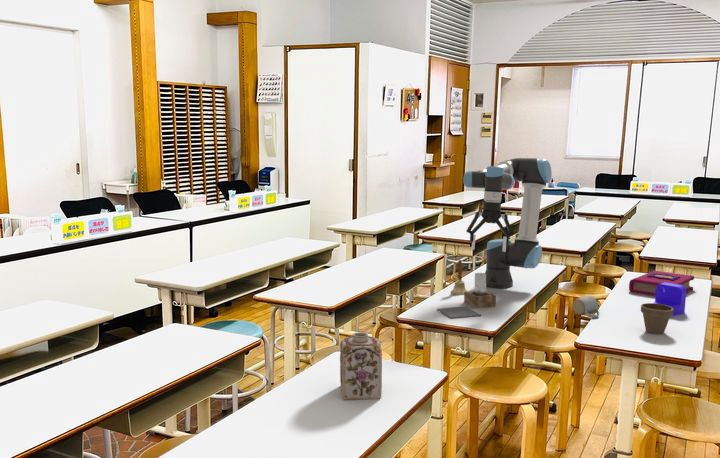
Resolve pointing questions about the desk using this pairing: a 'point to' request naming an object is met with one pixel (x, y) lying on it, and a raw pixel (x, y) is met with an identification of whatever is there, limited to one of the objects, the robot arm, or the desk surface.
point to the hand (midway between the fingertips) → (488, 250)
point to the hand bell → (459, 281)
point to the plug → (480, 284)
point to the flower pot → (656, 317)
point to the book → (658, 282)
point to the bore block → (480, 300)
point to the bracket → (671, 297)
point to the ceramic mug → (586, 306)
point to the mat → (458, 312)
